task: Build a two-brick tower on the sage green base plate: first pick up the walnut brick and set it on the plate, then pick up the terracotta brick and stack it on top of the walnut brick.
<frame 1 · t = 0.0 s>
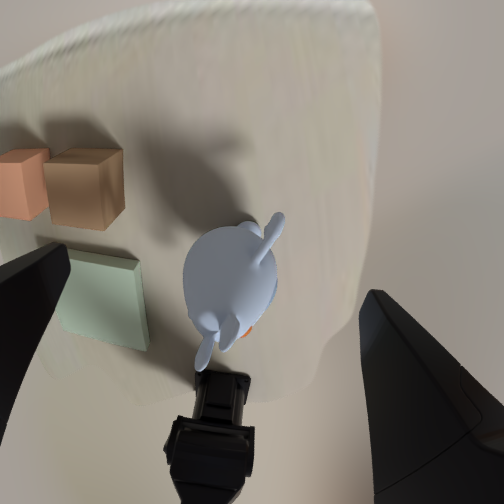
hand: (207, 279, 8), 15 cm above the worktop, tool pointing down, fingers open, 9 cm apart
toy figure: (238, 236, 25), on the worktop
base plate: (97, 296, 29), on the worktop
terracotta brick: (33, 174, 22), on the worktop
walnut brick: (97, 177, 23), on the worktop
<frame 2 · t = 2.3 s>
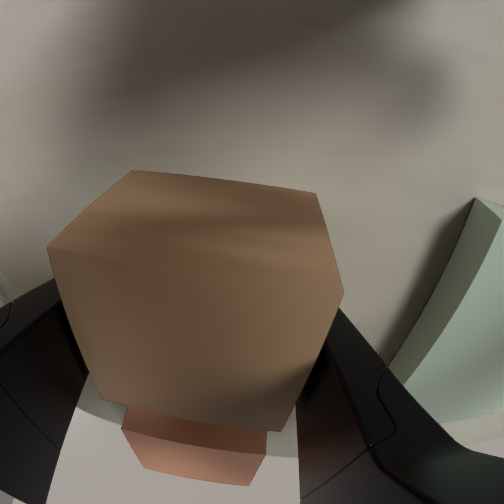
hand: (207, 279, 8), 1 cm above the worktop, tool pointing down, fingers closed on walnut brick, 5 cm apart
base plate: (500, 332, 10), on the worktop
terracotta brick: (207, 388, 13), on the worktop
walnut brick: (214, 258, 9), on the worktop, touching gripper
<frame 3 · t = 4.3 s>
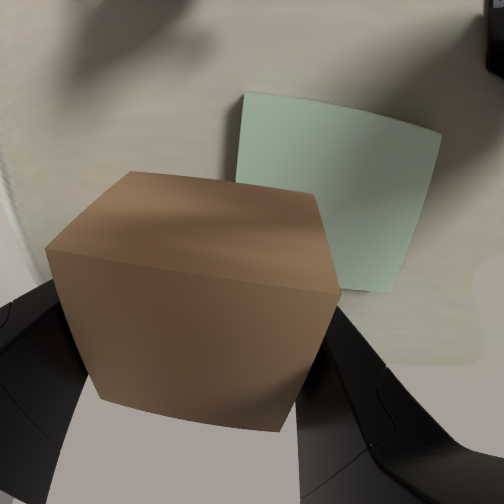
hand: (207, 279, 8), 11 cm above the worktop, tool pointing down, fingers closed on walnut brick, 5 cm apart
base plate: (329, 196, 18), on the worktop
walnut brick: (212, 259, 9), point 10 cm above the worktop, touching gripper
when the fingers open (4 cm above the worktop, at t = 6.4 s): walnut brick drops 1 cm, resting on base plate.
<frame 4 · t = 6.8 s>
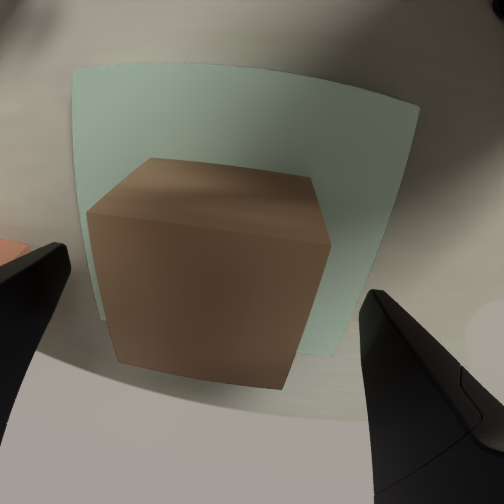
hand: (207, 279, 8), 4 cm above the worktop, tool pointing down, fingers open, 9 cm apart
base plate: (226, 215, 12), on the worktop
terracotta brick: (13, 273, 15), on the worktop
walnut brick: (221, 236, 11), point 1 cm above the worktop, touching base plate
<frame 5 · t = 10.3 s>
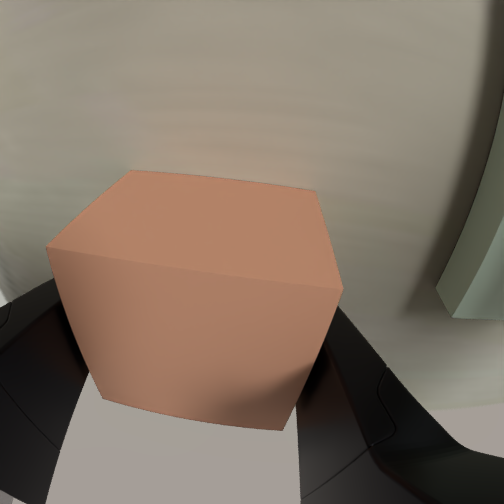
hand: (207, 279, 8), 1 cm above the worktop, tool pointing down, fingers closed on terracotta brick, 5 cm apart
terracotta brick: (214, 258, 9), on the worktop, touching gripper
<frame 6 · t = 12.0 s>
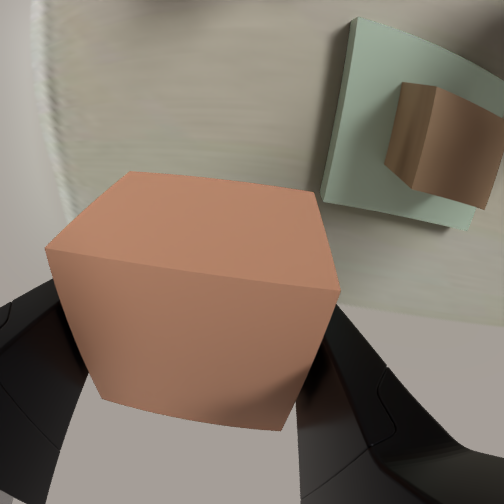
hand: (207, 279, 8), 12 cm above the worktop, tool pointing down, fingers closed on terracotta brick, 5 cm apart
base plate: (419, 129, 16), on the worktop
terracotta brick: (212, 258, 9), point 10 cm above the worktop, touching gripper
walnut brick: (430, 134, 15), point 1 cm above the worktop, touching base plate
when the fingers open (8 cm above the worktop, at t = 13.8 s): terracotta brick drops 1 cm, resting on walnut brick.
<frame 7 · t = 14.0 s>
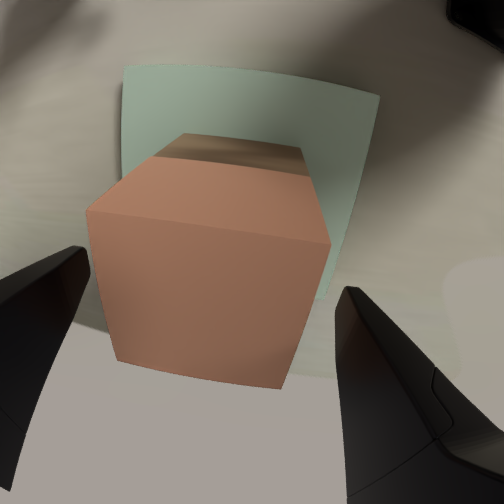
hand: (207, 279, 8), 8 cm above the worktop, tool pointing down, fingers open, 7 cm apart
base plate: (237, 180, 15), on the worktop
terracotta brick: (221, 235, 11), point 5 cm above the worktop, touching walnut brick
walnut brick: (235, 192, 14), point 1 cm above the worktop, touching base plate, terracotta brick
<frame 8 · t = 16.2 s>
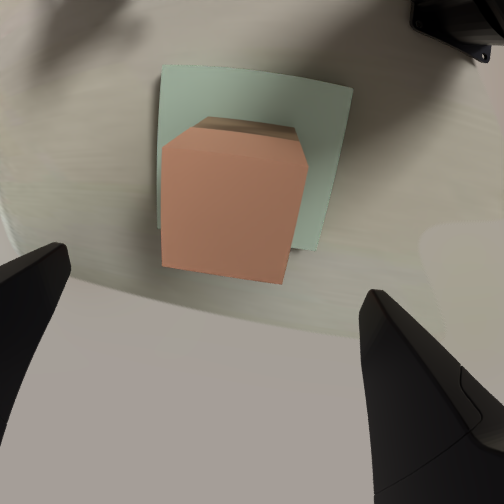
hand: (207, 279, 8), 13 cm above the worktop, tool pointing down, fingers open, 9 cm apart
base plate: (247, 154, 19), on the worktop
terracotta brick: (238, 183, 15), point 5 cm above the worktop, touching walnut brick
walnut brick: (245, 161, 18), point 1 cm above the worktop, touching base plate, terracotta brick
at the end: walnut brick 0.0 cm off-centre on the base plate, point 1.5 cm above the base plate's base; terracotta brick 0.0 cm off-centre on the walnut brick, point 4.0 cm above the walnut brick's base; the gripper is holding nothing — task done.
